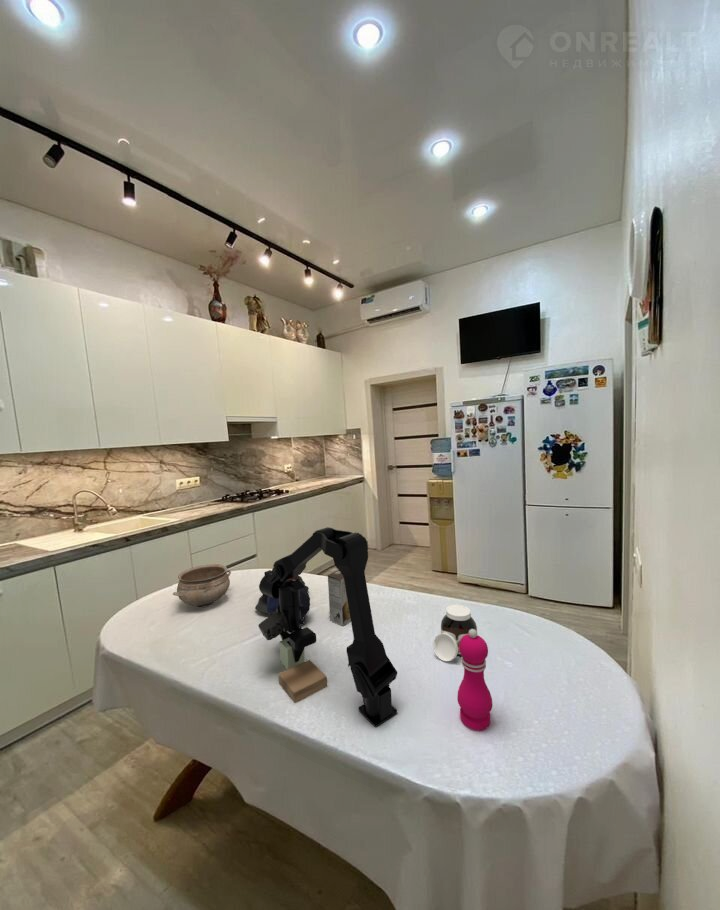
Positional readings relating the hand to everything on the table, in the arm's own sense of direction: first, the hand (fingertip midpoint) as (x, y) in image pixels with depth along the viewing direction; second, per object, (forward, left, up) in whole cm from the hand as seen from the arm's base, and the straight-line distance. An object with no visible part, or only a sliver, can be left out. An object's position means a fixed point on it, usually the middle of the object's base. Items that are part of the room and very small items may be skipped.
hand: (292, 657), depth 100 cm
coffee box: (+11, -25, -2) cm, 27 cm away
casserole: (+37, -14, -2) cm, 40 cm away
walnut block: (-10, +2, -2) cm, 10 cm away
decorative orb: (+21, -9, -2) cm, 23 cm away
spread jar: (-26, -38, -2) cm, 46 cm away
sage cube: (0, 0, -2) cm, 2 cm away
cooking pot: (+57, +10, -2) cm, 58 cm away
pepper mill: (-44, -22, -2) cm, 49 cm away
